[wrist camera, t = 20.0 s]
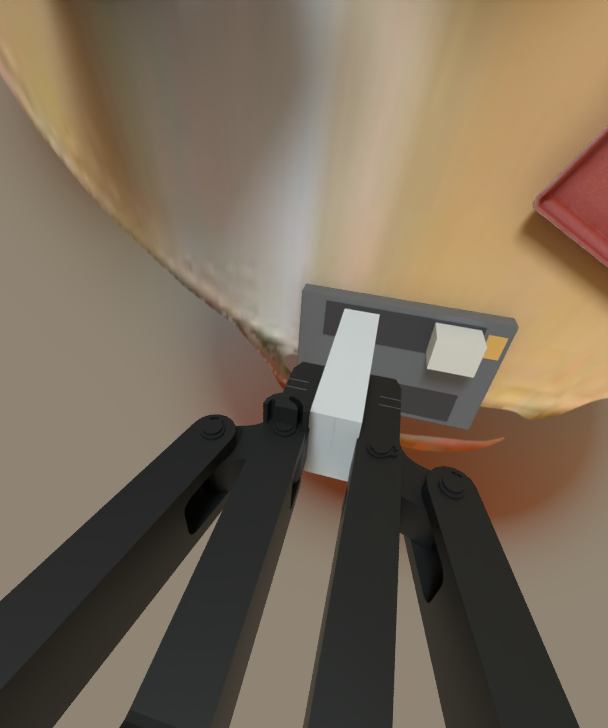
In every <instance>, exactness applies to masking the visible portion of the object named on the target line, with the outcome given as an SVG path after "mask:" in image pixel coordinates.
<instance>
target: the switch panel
mask: <svg viewBox="0 0 608 728" xmlns="http://www.w3.org/2000/svg"><path fill="white" fill-rule="evenodd" d="M344 309H351V310H357V311H363V312H368V313H374V314H380V316H379V322H378V328H377V334H376V340H375V346H374V353H373V359H372V365H371V371H370V374H372V375H377V376H382V377H387V378H392V379H396V380H397V382H398V384H399V385H400V387H401V389H402V393H401V409H400V410H401V416H405V417H410V418H415V419H419V420H424V421H429V422H434V423H438V424H443V425H447V426H452V427H457V428H461V429H466V430H468V429H469V427H470V425H471V423H472V421H473V419H474V417H475V415H476V413H477V411H478V409H479V407H480V405H481V403H482V401H483V399H484V397H485V395H486V393H487V391H488V389H489V387H490V385H491V383H492V381H493V379H494V377H495V375H496V373H497V371H498V369H499V367H500V364H501V362H502V360H503V358H504V356H505V354H506V352H507V350H508V348H509V346H510V344H511V342H512V340H513V338H514V336H515V334H516V332H517V330H518V328H519V327H518V325H517V323H516V320H515V319H514V318H508V317H502V316H496V315H490V314H484V313H478V312H472V311H466V310H460V309H454V308H448V307H442V306H436V305H430V304H424V303H418V302H412V301H406V300H400V299H394V298H388V297H382V296H376V295H370V294H364V293H358V292H352V291H346V290H340V289H334V288H328V287H322V286H316V285H310V284H306V285H305V287H304V289H303V290H302V303H301V317H300V332H299V346H298V361H297V365H299V364H300V363H301V362H308V363H313V364H318V365H323V366H326V363H327V360H328V357H329V354H330V351H331V348H332V345H333V342H334V339H335V336H336V333H337V330H338V327H339V324H340V321H341V318H342V315H343V312H344ZM435 323H442V324H448V325H453V326H459V327H465V328H471V329H476V330H482V332H483V335H484V338H485V342H486V345H487V349H486V351H485V354H484V356H483V358H482V360H481V363H480V365H479V367H478V369H477V371H476V374H475V376H474V378H472V377H467V376H462V375H457V374H452V373H446V372H441V371H436V370H431V369H427V361H426V350H427V347H428V344H429V341H430V338H431V335H432V332H433V329H434V326H435Z"/></svg>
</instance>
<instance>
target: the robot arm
mask: <svg viewBox="0 0 608 728" xmlns="http://www.w3.org/2000/svg"><path fill="white" fill-rule="evenodd" d="M379 316H380V314H374V313H368V312H363V311H357V310H351V309H344V312H343V315H342V318H341V321H340V324H339V327H338V330H337V333H336V336H335V339H334V342H333V345H332V348H331V351H330V354H329V357H328V360H327V363H326V366H323V365H318V364H313V363H308V362H301V363H300V364H299V365H297V366H296V367H295V368H294V369H293V371H292V374H291V376H290V379H289V380H288V382H287V385H286V387H285V389H284V391H283V393H278V394H274V395H272V396H270V397H268V398H267V399H266V401H265V402H264V403H263V410H264V411H263V423H260V424H257V425H250V426H235V424H234V422H233V421H232V420H231V419H230V418H228V417H227V416H223V415H208V416H205V417H202V418H201V419H199V420H198V421H196V422H195V423H194V424H193V425H192V426H191V427H190V428H188V429H187V430H186V431H185V432H184V433H183V434H182V435H181V436H180V437H178V438H177V439H176V440H175V441H174V442H173V443H172V444H171V445H170V446H169V447H168V448H167V449H165V450H164V451H163V452H162V453H161V454H160V455H159V456H158V457H157V458H156V459H155V460H153V462H151V463H150V464H149V465H148V466H147V467H146V468H145V469H144V470H143V471H141V472H140V473H139V474H138V475H137V476H136V477H135V478H134V479H133V480H132V481H131V482H129V483H128V484H127V485H126V486H125V487H124V488H123V489H122V490H121V491H120V492H119V493H118V494H117V495H115V496H114V497H113V498H112V499H111V500H110V501H109V502H108V503H107V504H106V505H104V506H103V507H102V508H101V509H100V510H99V511H98V512H97V513H96V514H95V515H94V516H93V517H91V518H90V519H89V520H88V521H87V522H86V523H85V524H84V525H83V526H82V527H81V528H79V529H78V530H77V531H76V532H75V533H74V534H73V535H72V536H71V537H70V538H69V539H67V540H66V541H65V542H64V543H63V544H62V545H61V546H60V547H59V548H58V549H57V550H55V552H53V553H52V554H51V555H50V556H49V557H48V558H47V559H46V560H45V561H44V562H43V563H41V564H40V565H39V566H38V567H37V568H36V569H35V570H34V571H33V572H32V573H30V574H29V575H28V576H27V577H26V578H25V579H24V580H23V581H22V582H21V583H20V584H18V586H16V587H15V588H14V589H13V590H12V591H11V592H10V593H9V594H8V595H7V596H5V597H4V598H3V599H2V600H1V601H0V728H53V727H54V725H55V724H56V723H57V721H58V720H59V719H60V718H61V716H62V715H63V714H64V712H65V711H66V710H67V708H68V707H69V706H70V705H71V703H72V702H73V701H74V700H75V698H76V697H77V696H78V694H79V693H80V692H81V691H82V689H83V688H84V687H85V685H86V684H87V683H88V682H89V680H90V679H91V678H92V676H93V675H94V674H95V672H96V671H97V670H98V668H100V666H101V665H102V664H103V662H104V661H105V660H106V659H107V657H108V656H109V655H110V653H111V652H112V651H113V649H114V648H115V647H116V645H117V644H118V643H119V642H120V641H121V639H122V638H123V637H124V635H125V634H126V633H127V632H128V630H129V629H130V628H131V626H132V625H133V624H134V622H135V621H136V620H137V619H138V618H139V616H140V615H141V614H142V612H143V611H144V610H145V609H146V607H147V606H148V604H149V603H150V602H151V601H152V599H153V598H154V597H155V596H156V594H157V593H158V592H159V591H160V589H161V588H162V587H163V585H164V584H165V583H166V582H167V580H168V579H169V578H170V576H171V575H172V574H173V573H174V571H175V570H176V569H177V567H178V566H179V565H180V564H181V562H182V561H183V560H184V558H185V557H186V556H187V555H188V553H189V552H190V551H191V549H192V548H193V547H194V546H195V544H196V543H197V542H198V541H199V539H200V538H201V537H202V535H203V534H204V533H205V531H206V530H207V529H208V527H209V526H210V525H211V524H212V523H213V521H214V520H215V519H216V517H217V516H218V515H219V514H220V512H221V511H222V510H223V511H222V513H221V515H220V517H219V519H218V522H217V523H216V526H215V528H214V530H213V532H212V534H211V536H210V539H209V541H208V543H207V545H206V547H205V549H204V551H203V553H202V556H201V558H200V560H199V562H198V564H197V566H196V569H195V571H194V573H193V575H192V577H191V579H190V581H189V584H188V586H187V588H186V590H185V592H184V594H183V596H182V599H181V601H180V603H179V605H178V608H177V609H176V612H175V614H174V616H173V618H172V620H171V622H170V624H169V626H168V629H167V631H166V633H165V635H164V637H163V639H162V641H161V644H160V646H159V648H158V650H157V652H156V654H155V657H154V659H153V661H152V663H151V665H150V667H149V669H148V671H147V674H146V676H145V678H144V680H143V682H142V684H141V686H140V689H139V691H138V693H137V695H136V697H135V699H134V701H133V704H132V706H131V708H130V710H129V712H128V714H127V716H126V718H125V720H124V721H123V723H122V724H121V726H120V728H229V726H230V723H231V719H232V716H233V712H234V709H235V706H236V702H237V699H238V695H239V692H240V689H241V685H242V682H243V678H244V675H245V671H246V668H247V665H248V661H249V658H250V654H251V651H252V648H253V644H254V641H255V638H256V634H257V631H258V627H259V624H260V620H261V617H262V614H263V610H264V607H265V604H266V600H267V597H268V593H269V590H270V587H271V583H272V580H273V576H274V573H275V570H276V566H277V563H278V559H279V556H280V553H281V549H282V545H283V542H284V539H285V535H286V532H287V529H288V525H289V522H290V519H291V515H292V512H293V508H294V505H295V501H296V498H297V494H298V491H299V488H300V483H301V475H302V472H303V468H304V471H308V472H312V473H316V474H320V475H324V476H328V477H332V478H336V479H340V480H344V481H348V483H347V488H346V493H345V497H344V501H343V506H342V514H341V519H340V525H339V530H338V536H337V541H336V547H335V552H334V558H333V563H332V569H331V575H330V580H329V586H328V591H327V597H326V602H325V608H324V614H323V619H322V625H321V630H320V636H319V641H318V647H317V652H316V658H315V663H314V669H313V675H312V680H311V686H310V691H309V697H308V702H307V708H306V714H305V719H304V725H303V728H392V722H393V696H394V695H393V694H394V669H395V642H396V613H397V586H398V561H399V533H402V534H403V535H404V539H405V543H406V548H407V553H408V557H409V561H410V566H411V571H412V575H413V580H414V584H415V589H416V594H417V598H418V603H419V607H420V612H421V616H422V621H423V625H424V630H425V635H426V639H427V643H428V648H429V652H430V657H431V662H432V666H433V671H434V675H435V680H436V685H437V689H438V694H439V698H440V703H441V707H442V712H443V716H444V721H445V725H446V728H580V727H579V725H578V723H577V720H576V718H575V716H574V713H573V711H572V709H571V706H570V704H569V702H568V699H567V697H566V695H565V693H564V690H563V688H562V686H561V683H560V681H559V679H558V677H557V674H556V672H555V669H554V667H553V665H552V662H551V660H550V658H549V655H548V653H547V651H546V648H545V646H544V644H543V641H542V639H541V637H540V634H539V632H538V630H537V627H536V625H535V623H534V621H533V618H532V616H531V614H530V612H529V609H528V607H527V604H526V602H525V600H524V598H523V595H522V593H521V591H520V588H519V586H518V583H517V581H516V579H515V577H514V574H513V572H512V569H511V567H510V565H509V562H508V560H507V558H506V555H505V553H504V551H503V548H502V546H501V544H500V542H499V539H498V537H497V535H496V532H495V530H494V528H493V525H492V523H491V521H490V518H489V516H488V514H487V511H486V509H485V507H484V504H483V502H482V500H481V498H480V495H479V493H478V490H477V488H476V486H475V485H474V483H473V482H472V480H471V479H470V478H469V477H467V476H466V475H465V474H464V473H463V472H460V471H459V470H456V469H455V468H451V467H445V466H442V467H436V468H434V469H432V470H431V471H430V470H428V469H426V468H424V467H422V466H420V465H418V464H417V463H415V462H413V461H412V460H411V459H410V458H408V457H407V456H406V454H405V453H404V452H403V450H402V448H401V446H400V440H399V439H400V416H401V410H400V409H401V393H402V389H401V387H400V385H399V384H398V382H397V380H396V379H392V378H387V377H382V376H377V375H372V374H370V371H371V365H372V359H373V353H374V346H375V340H376V334H377V328H378V322H379Z"/></svg>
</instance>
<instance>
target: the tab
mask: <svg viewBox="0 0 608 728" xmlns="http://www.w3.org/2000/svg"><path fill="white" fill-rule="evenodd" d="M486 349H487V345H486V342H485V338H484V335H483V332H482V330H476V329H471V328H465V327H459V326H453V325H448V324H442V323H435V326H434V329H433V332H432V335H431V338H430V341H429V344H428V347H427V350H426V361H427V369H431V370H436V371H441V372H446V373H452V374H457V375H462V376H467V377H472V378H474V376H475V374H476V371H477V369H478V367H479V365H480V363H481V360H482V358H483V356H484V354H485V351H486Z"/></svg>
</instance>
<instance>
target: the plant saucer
mask: <svg viewBox="0 0 608 728" xmlns="http://www.w3.org/2000/svg"><path fill="white" fill-rule="evenodd" d="M533 207H534V209H535V210H536V211H537V212H538V213H539V214H540V215H542V216H543V217H544V218H546V219H547V220H548V221H549V222H551V223H552V224H553V225H554V226H555V227H557V228H558V229H559V230H561V231H562V232H563V233H564V234H566V235H567V236H568V237H570V238H571V239H572V240H573V241H575V242H576V243H577V244H578V245H579V246H580V247H582V248H583V249H584V250H586V251H587V252H589V253H590V254H591V255H592V256H593V257H595V258H596V259H597V260H598V261H600V262H601V263H602V264H604V265H605V266H606V267H607V268H608V125H607V126H606V127H605V128H604V129H603V130H602V131H601V132H600V134H599V135H598V136H597V137H596V138H595V139H594V140H592V141H591V142H590V143H589V144H588V145H587V147H586V148H585V149H584V150H583V151H582V152H581V153H580V154H579V155H578V156H577V157H576V158H575V159H574V160H573V161H572V162H571V163H570V164H569V165H568V166H567V167H566V168H565V169H564V170H563V171H562V172H561V173H560V174H559V175H558V176H557V177H556V178H555V179H554V180H553V181H552V182H551V183H550V184H549V185H548V186H547V187H546V188H545V189H544V190H543V191H542V192H541V193H540V194H539V195H538V196H537V197H536V199H535V201H534V203H533Z"/></svg>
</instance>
